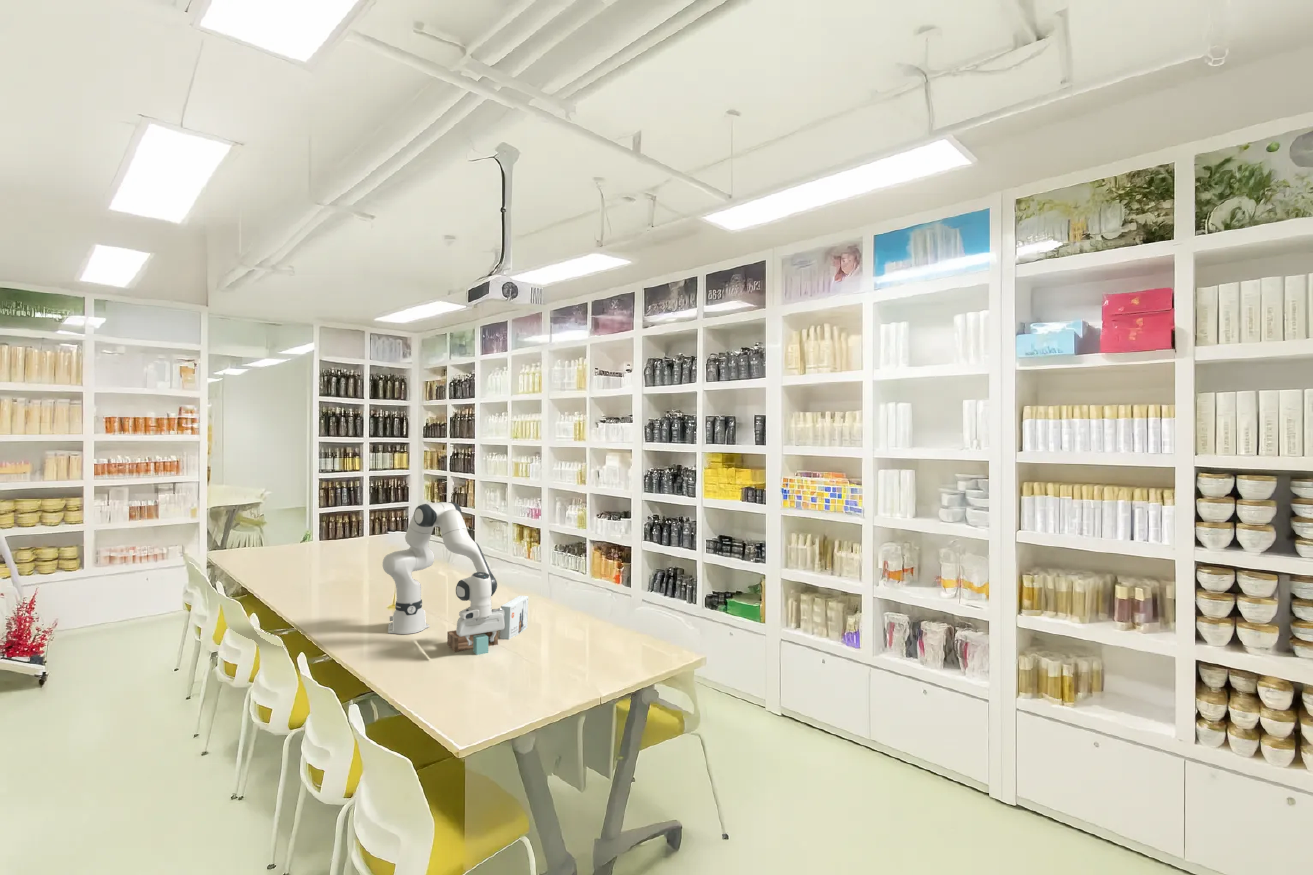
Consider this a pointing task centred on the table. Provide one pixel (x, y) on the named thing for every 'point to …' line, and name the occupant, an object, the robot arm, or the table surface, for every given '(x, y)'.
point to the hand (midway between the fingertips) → (480, 643)
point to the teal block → (480, 644)
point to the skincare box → (515, 617)
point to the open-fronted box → (462, 644)
